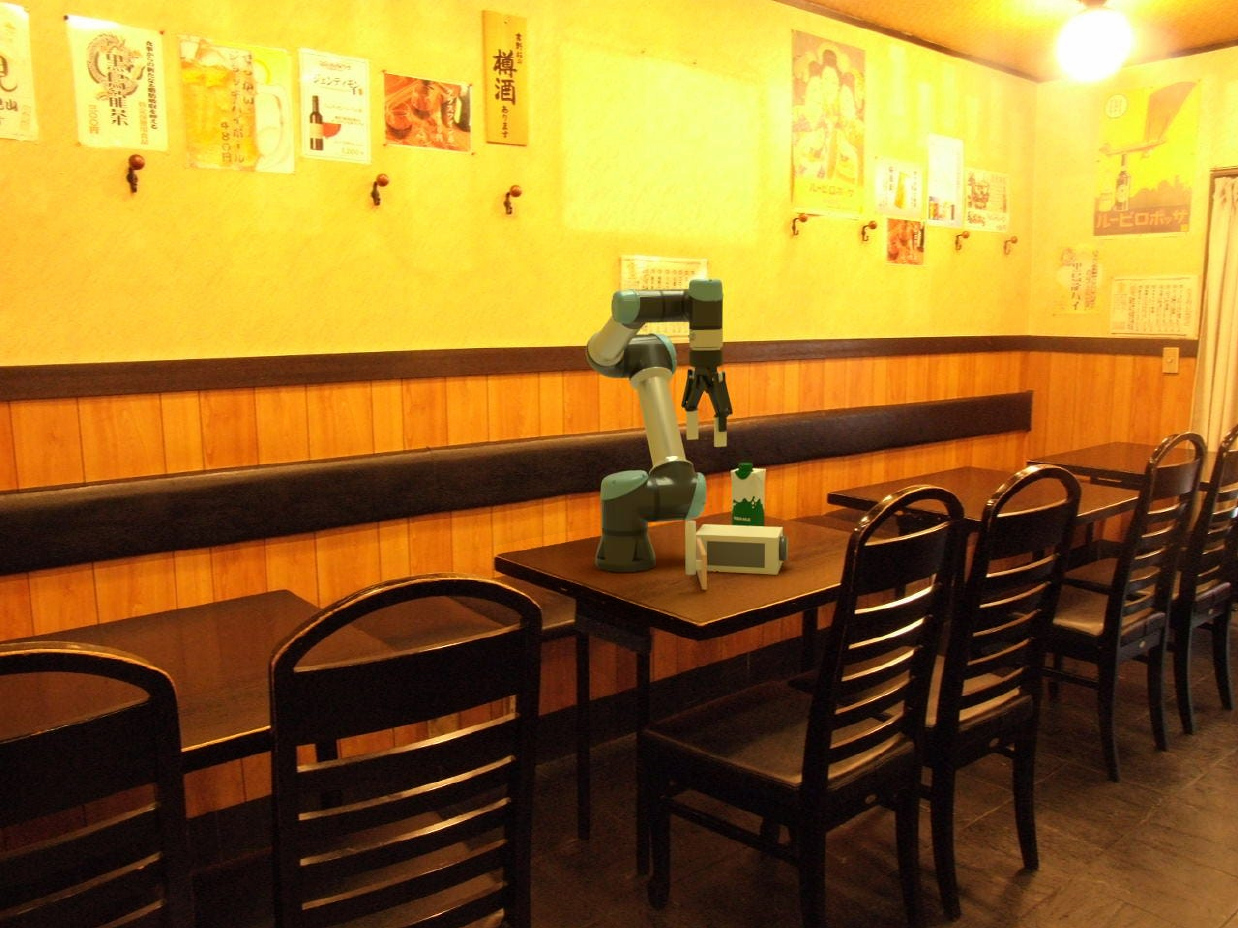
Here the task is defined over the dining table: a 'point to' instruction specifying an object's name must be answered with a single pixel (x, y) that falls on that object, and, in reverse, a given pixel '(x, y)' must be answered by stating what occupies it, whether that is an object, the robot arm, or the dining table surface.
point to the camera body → (744, 548)
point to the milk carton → (748, 495)
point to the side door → (695, 554)
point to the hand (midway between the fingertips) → (706, 442)
